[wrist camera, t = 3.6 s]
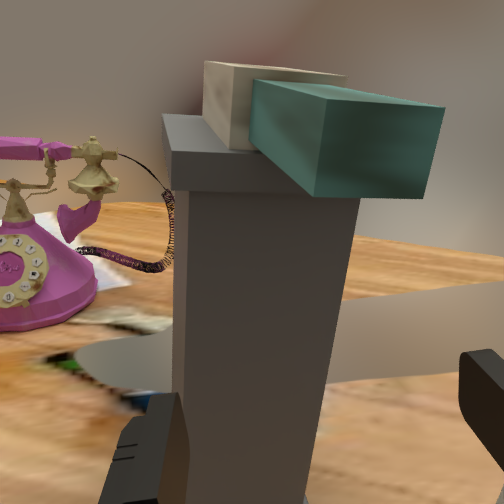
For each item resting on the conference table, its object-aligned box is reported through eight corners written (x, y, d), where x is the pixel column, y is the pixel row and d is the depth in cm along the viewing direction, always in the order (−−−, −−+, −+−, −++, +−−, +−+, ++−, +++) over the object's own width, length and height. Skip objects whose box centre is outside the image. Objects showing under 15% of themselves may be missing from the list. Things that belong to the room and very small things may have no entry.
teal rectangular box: (277, 122, 35) (283, 67, 33) (444, 213, 16) (477, 93, 14) (202, 117, 34) (204, 60, 32) (281, 211, 14) (296, 78, 13)
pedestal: (270, 417, 49) (309, 122, 37) (312, 540, 37) (393, 159, 24) (161, 428, 47) (161, 113, 34) (166, 565, 34) (171, 150, 21)
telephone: (-103, 334, 57) (-157, 138, 47) (-25, 260, 78) (-52, 113, 68) (176, 334, 62) (179, 158, 52) (180, 265, 83) (183, 129, 73)
